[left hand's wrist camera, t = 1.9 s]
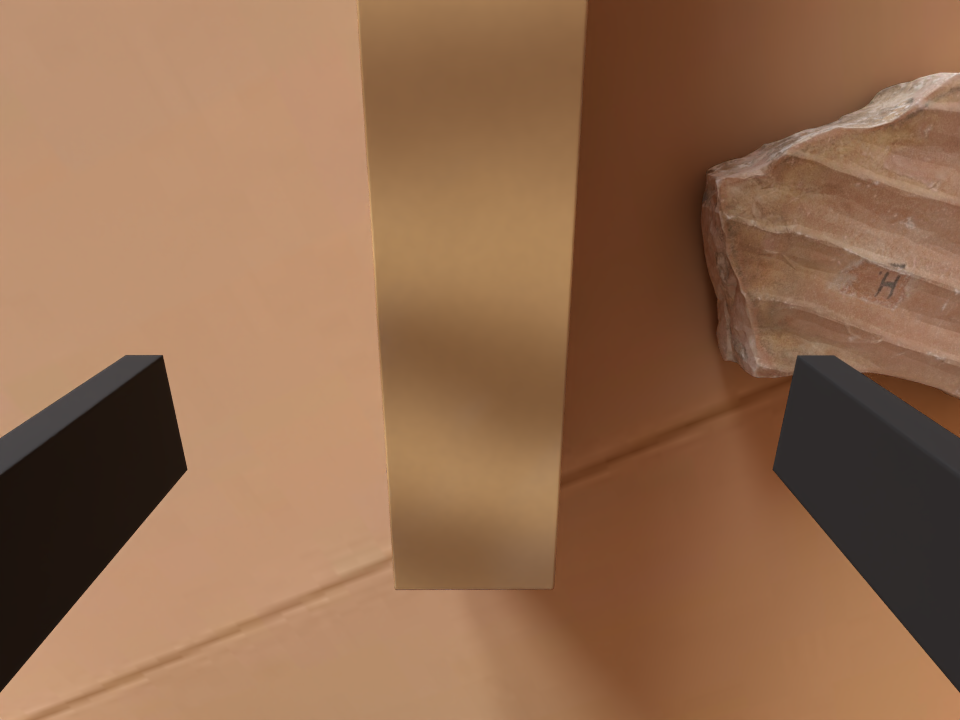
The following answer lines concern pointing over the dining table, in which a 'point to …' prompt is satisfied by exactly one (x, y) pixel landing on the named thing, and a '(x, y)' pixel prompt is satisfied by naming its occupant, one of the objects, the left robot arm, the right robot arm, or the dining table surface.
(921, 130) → the stone
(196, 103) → the dining table surface
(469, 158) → the post
